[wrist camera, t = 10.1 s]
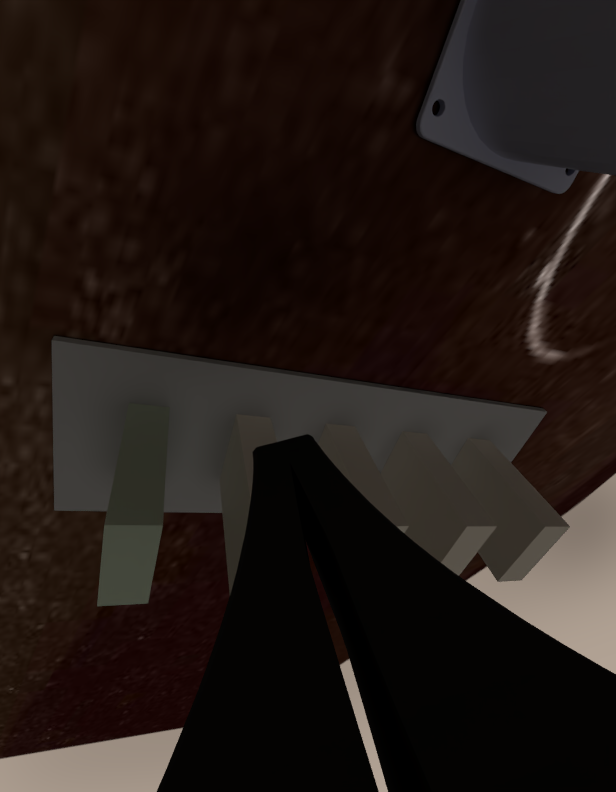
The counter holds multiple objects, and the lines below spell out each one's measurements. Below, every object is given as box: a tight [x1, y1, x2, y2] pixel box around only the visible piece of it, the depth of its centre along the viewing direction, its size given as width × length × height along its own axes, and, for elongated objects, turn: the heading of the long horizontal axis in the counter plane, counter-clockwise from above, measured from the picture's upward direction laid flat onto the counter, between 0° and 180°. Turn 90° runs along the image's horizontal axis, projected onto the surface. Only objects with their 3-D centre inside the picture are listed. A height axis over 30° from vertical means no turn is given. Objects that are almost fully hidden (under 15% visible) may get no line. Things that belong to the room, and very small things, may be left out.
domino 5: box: [451, 438, 570, 582], centre depth 25 cm, size 2×5×7 cm, turn 163°
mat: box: [52, 336, 547, 513], centre depth 24 cm, size 10×28×1 cm, turn 73°
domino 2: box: [220, 414, 277, 594], centre depth 19 cm, size 2×5×7 cm, turn 162°
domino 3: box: [318, 423, 409, 533], centre depth 21 cm, size 2×5×7 cm, turn 162°
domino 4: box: [380, 431, 497, 576], centre depth 23 cm, size 2×5×7 cm, turn 162°
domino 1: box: [97, 403, 170, 606], centre depth 17 cm, size 2×5×7 cm, turn 162°
